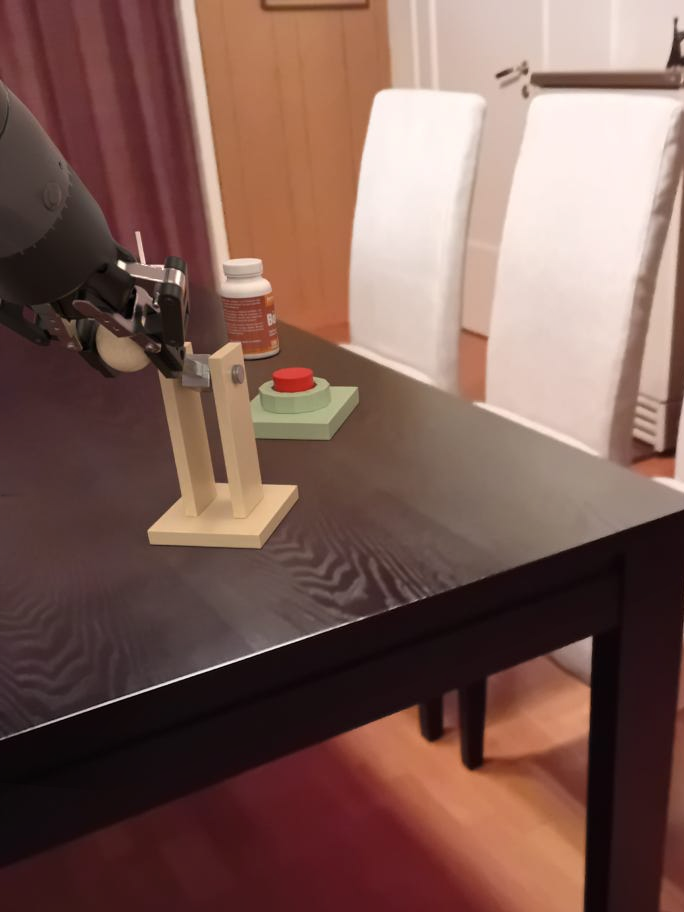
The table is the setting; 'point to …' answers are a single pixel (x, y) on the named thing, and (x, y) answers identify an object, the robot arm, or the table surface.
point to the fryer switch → (203, 501)
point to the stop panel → (302, 411)
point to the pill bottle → (249, 308)
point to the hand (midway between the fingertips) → (144, 365)
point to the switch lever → (133, 358)
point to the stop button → (293, 380)
